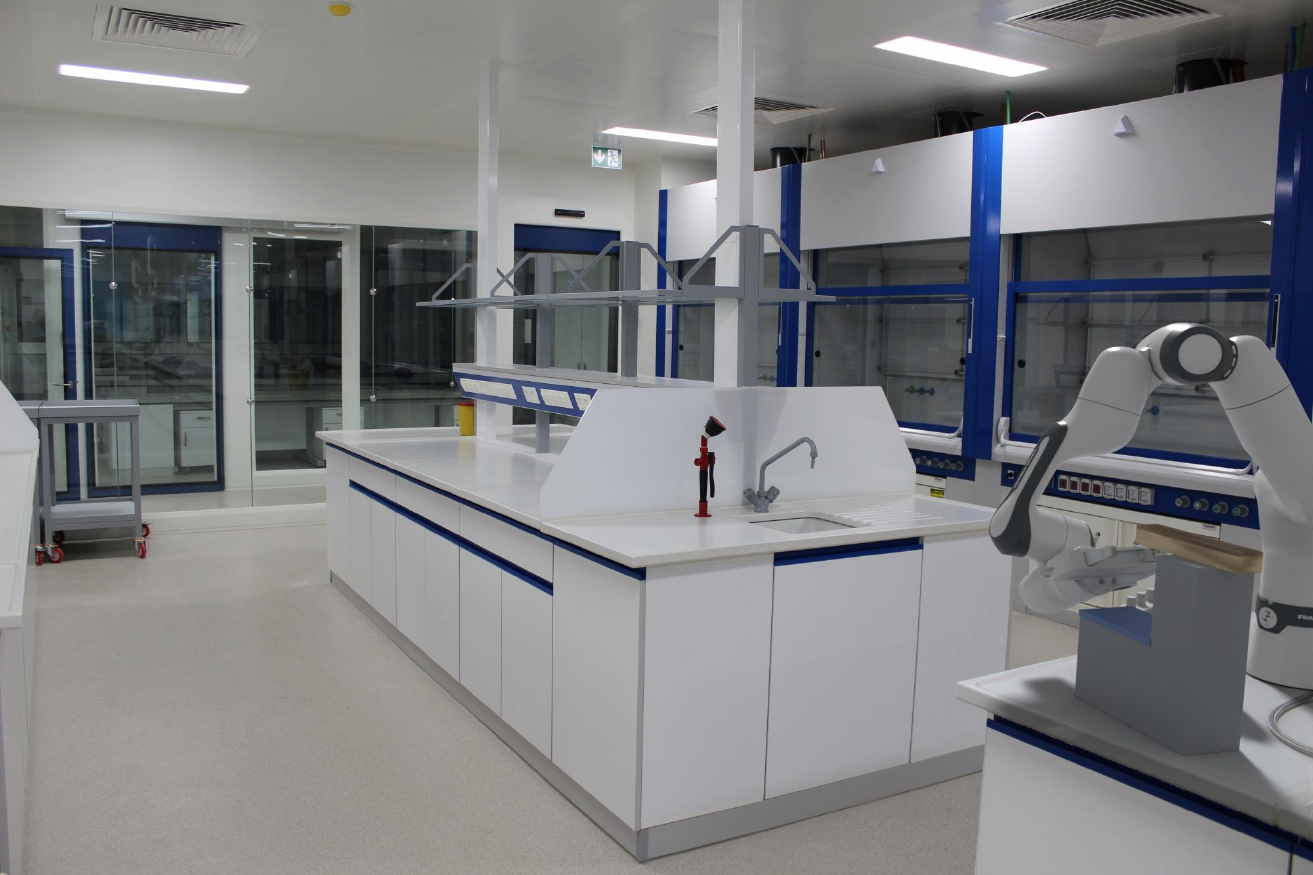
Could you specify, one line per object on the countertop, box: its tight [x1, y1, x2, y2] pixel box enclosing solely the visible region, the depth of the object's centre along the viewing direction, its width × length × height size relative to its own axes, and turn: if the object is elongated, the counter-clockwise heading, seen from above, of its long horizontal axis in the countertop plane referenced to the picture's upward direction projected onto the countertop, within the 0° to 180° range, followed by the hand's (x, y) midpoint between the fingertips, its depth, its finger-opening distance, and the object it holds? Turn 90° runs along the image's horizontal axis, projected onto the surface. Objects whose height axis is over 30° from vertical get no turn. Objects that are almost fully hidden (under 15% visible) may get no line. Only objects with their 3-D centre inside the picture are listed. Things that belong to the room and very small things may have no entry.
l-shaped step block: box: [1074, 554, 1256, 757], centre depth 155 cm, size 10×24×28 cm, turn 15°
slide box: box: [1135, 523, 1264, 574], centre depth 148 cm, size 4×20×3 cm, turn 15°
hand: (1138, 548), depth 159 cm, fingers open, 8 cm apart
